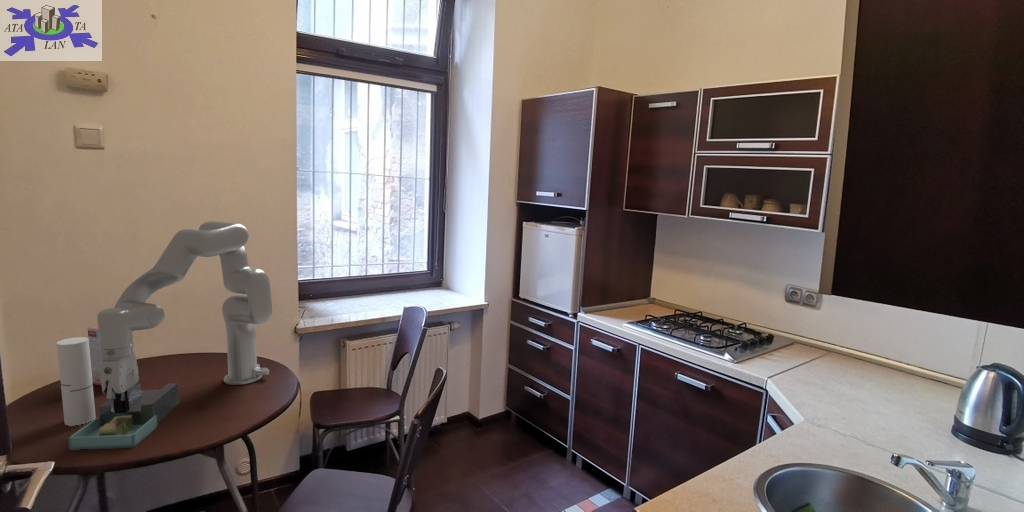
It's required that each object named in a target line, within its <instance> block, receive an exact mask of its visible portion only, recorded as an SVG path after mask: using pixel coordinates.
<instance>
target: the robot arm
mask: <svg viewBox="0 0 1024 512" xmlns="http://www.w3.org/2000/svg"><path fill="white" fill-rule="evenodd" d="M249 235H250V234H249V231H248V229H247V228H246V226H244V225H243V224H241V223H237V222H236V223H235V222H228V221H227V222H226V221H225V222H224V221H215V220H214V221H213V220H211V221H205V222H203V223H202V224H200V225H199V227H198V229H194V228H193V229H192V228H191V229H189V228H188V229H187V228H186V229H185V228H184V229H180V230H179V231H177V232H176V233H175V235H173V237H172V238H171V240H170V241H169V243H168V244H167V246H166V248H165V249H164V250H163V252H162V254H161V255H160V256H159V258H158V260H157V262H156V263H154V266H153V267H152V268H150V269H149V270H148V271H146V272H144V273H143V274H142V275H140V276H139V277H138V278H136V279H135V280H133V281H132V282H131V283H130V284H129V285H128V286H127V287H126V288H125V289H124V291H123V293H121V295H120V296H119V298H118V300H116V303H115V305H114V307H110V308H106V309H102V310H101V311H99V312H98V313H97V316H96V317H97V319H96V320H97V325H98V332H99V344H100V356H101V360H102V365H101V385H102V386H101V391H102V393H103V394H104V395H106V401H107V400H112V401H113V403H114V413H126V412H127V411H129V410H130V407H129V398H127V397H129V396H130V388H131V387H132V386H134V385H135V384H138V382H139V380H140V376H139V375H140V374H139V369H138V361H137V358H136V354H135V349H134V339H133V332H135V331H142V330H143V331H144V330H149V329H151V330H152V329H154V328H156V327H158V326H159V325H161V323H162V322H164V320H165V317H166V316H165V310H164V309H163V308H162V307H161V306H159V305H158V304H154V303H149V302H147V300H148V299H149V298H150V297H151V296H152V295H153V294H155V293H156V292H157V291H160V290H161V289H164V288H167V287H169V286H172V285H175V284H177V283H180V282H181V281H182V280H183V279H184V278H185V276H186V275H187V274H188V272H189V269H190V268H191V266H192V265H193V263H194V261H195V260H196V258H197V257H203V258H211V257H216V256H219V259H220V266H221V274H222V280H223V286H224V288H225V290H226V291H228V292H230V293H234V294H236V295H231V296H228V297H227V298H226V299H225V300H224V301H223V303H222V308H221V312H222V317H223V321H224V323H225V329H226V333H225V334H226V349H227V350H226V351H227V373H228V374H226V375H225V376H224V378H223V383H225V384H227V385H229V386H230V385H231V386H238V385H239V386H240V385H247V384H252V383H255V382H257V381H259V380H260V379H261V378H262V377H263V375H264V376H265V375H267V376H268V375H270V369H268V367H261V366H260V363H258V357H257V356H258V355H257V332H256V326H255V325H264V324H265V323H267V322H268V321H269V320H270V318H271V317H272V314H273V301H272V292H271V290H272V289H271V281H270V278H269V276H268V274H267V273H266V272H265V271H264V270H263V269H260V268H256V267H250V263H249V259H248V253H247V249H246V248H245V245H246V244H247V243H248V241H249Z"/></svg>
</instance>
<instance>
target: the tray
mask: <svg viewBox="0 0 1024 512" xmlns="http://www.w3.org/2000/svg"><path fill="white" fill-rule="evenodd" d="M102 427H103V426H101V425H100V417H96V418H95V419H94V420H92V421H91V422H89V423H86V424H85V425H84V426H83V427H81V428H80V429H79V430H77V431H76V432H74V433H72V434H71V435H70V436H69V437H67V440H68V441H67V442H68V444H67V445H68V450H69V451H81V450H80V449H82V451H83V449H88V450H103V449H104V450H105V449H106V450H107V449H126V448H127V449H128V448H136V447H137V446H138V445H139V444H140V443H141V442H142V441H143V440H144V439H145V438H147V437H148V436H149V435H150V434H151V433H152V432H154V431H155V429H156V428H157V427H158V423H157V416H153V417H152V418H151V419H150V420H149V421H147V422H146V423H145V424H144V425H133V429H132V430H131V431H130V432H129V433H128V434H127V435H109V436H99V429H100V428H102Z"/></svg>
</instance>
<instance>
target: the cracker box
mask: <svg viewBox="0 0 1024 512" xmlns="http://www.w3.org/2000/svg"><path fill="white" fill-rule="evenodd" d="M87 338H88V339H89V349H90V360H91V372H92V383H93V385H96V386H100V387H102V385H101V365H102V360H101V356H100V344H99V332H98V324H97V325H94V326H89V327H87Z"/></svg>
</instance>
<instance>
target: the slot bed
mask: <svg viewBox="0 0 1024 512" xmlns="http://www.w3.org/2000/svg"><path fill="white" fill-rule="evenodd" d="M179 393H180V392H179V383H178V382H174V383H173V382H172V383H171V382H170V383H167V384H165V385H164V386H163V387H161V388H160V389H142V384H141V383H136V384H135V385H134V386H132V387H131V388H130V396H129V397H127V398H129V407H130V410H129V411H127V412H126V413H114V403H113V401H112V400H107V399H106V401H105V402H103V403H102V404H101V405H99V422H100V426H104V425H105V424H106V423H109V422H110V421H112V420H113V419H114V418H115V417H116V416H128V415H132V422H133V425H144V424H145V423H146V422H147V421H149V420H150V419H151V418H152V417H153V416H157V424H158V423H159V422H161V420H163V419H164V418H165V417H166V416H167V415H168V414H170V412H172V411H173V410H174V409H175V408H176V407H177V406H178V405H179V404H180V395H179Z"/></svg>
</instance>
